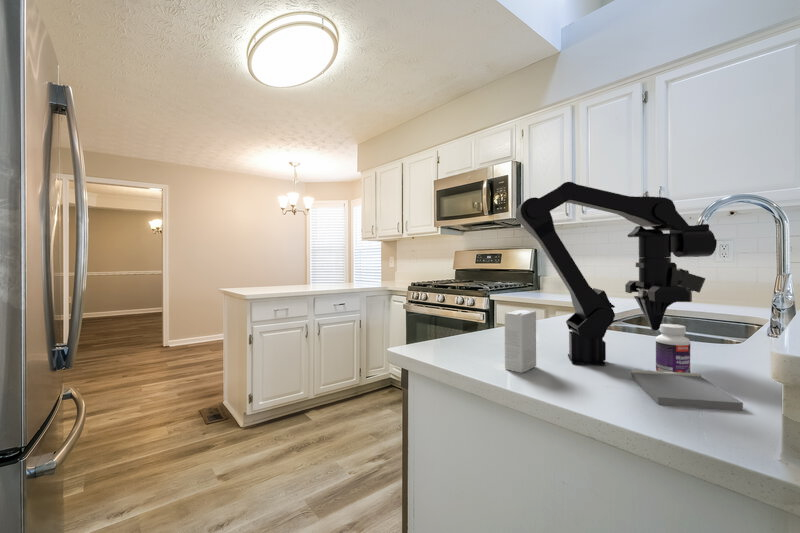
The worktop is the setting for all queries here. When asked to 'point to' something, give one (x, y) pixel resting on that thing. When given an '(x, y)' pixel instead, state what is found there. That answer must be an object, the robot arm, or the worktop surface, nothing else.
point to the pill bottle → (672, 349)
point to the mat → (684, 390)
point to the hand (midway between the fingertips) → (654, 330)
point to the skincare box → (520, 340)
